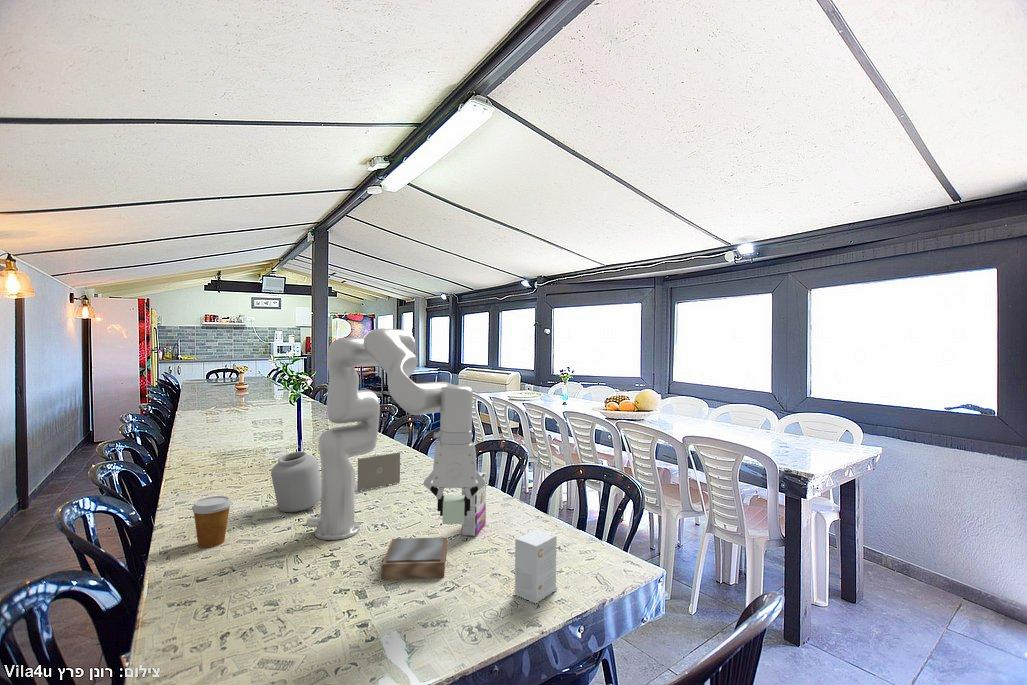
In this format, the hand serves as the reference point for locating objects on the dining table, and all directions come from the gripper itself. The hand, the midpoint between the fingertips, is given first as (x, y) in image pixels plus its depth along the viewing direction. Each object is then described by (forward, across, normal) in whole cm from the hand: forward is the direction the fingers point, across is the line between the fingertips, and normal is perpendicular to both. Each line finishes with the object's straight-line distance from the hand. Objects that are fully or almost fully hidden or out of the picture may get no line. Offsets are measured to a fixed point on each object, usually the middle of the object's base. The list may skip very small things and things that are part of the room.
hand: (453, 513), depth 111 cm
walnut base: (+18, -10, +12) cm, 23 cm away
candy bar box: (+18, +5, +34) cm, 38 cm away
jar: (+19, -56, +55) cm, 80 cm away
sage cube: (+2, 0, 0) cm, 2 cm away
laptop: (+19, -35, +82) cm, 91 cm away
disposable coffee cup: (+19, -69, +28) cm, 76 cm away
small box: (+17, +19, -4) cm, 26 cm away
